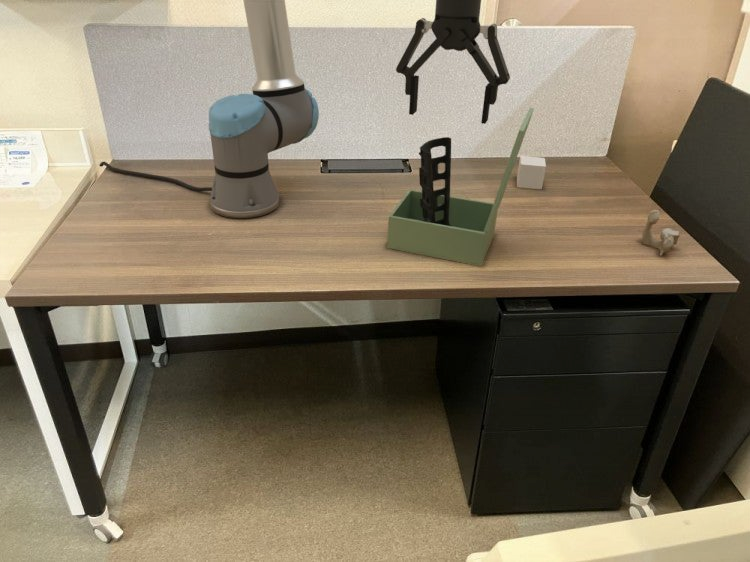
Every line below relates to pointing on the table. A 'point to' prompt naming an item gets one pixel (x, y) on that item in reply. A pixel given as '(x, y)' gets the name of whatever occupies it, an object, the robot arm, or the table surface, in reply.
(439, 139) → the holder
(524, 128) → the lid
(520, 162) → the white cube
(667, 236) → the beige irregular piece
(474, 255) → the box
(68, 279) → the table surface
